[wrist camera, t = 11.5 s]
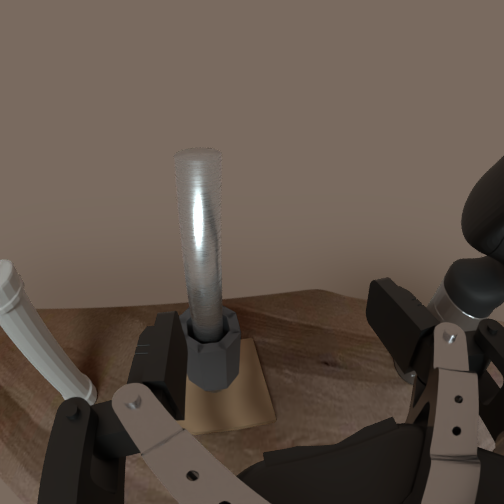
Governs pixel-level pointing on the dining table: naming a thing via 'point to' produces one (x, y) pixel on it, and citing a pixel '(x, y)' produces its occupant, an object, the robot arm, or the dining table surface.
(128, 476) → the dining table surface
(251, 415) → the post
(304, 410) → the dining table surface
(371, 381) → the dining table surface
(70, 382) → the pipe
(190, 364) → the collar
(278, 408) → the dining table surface
